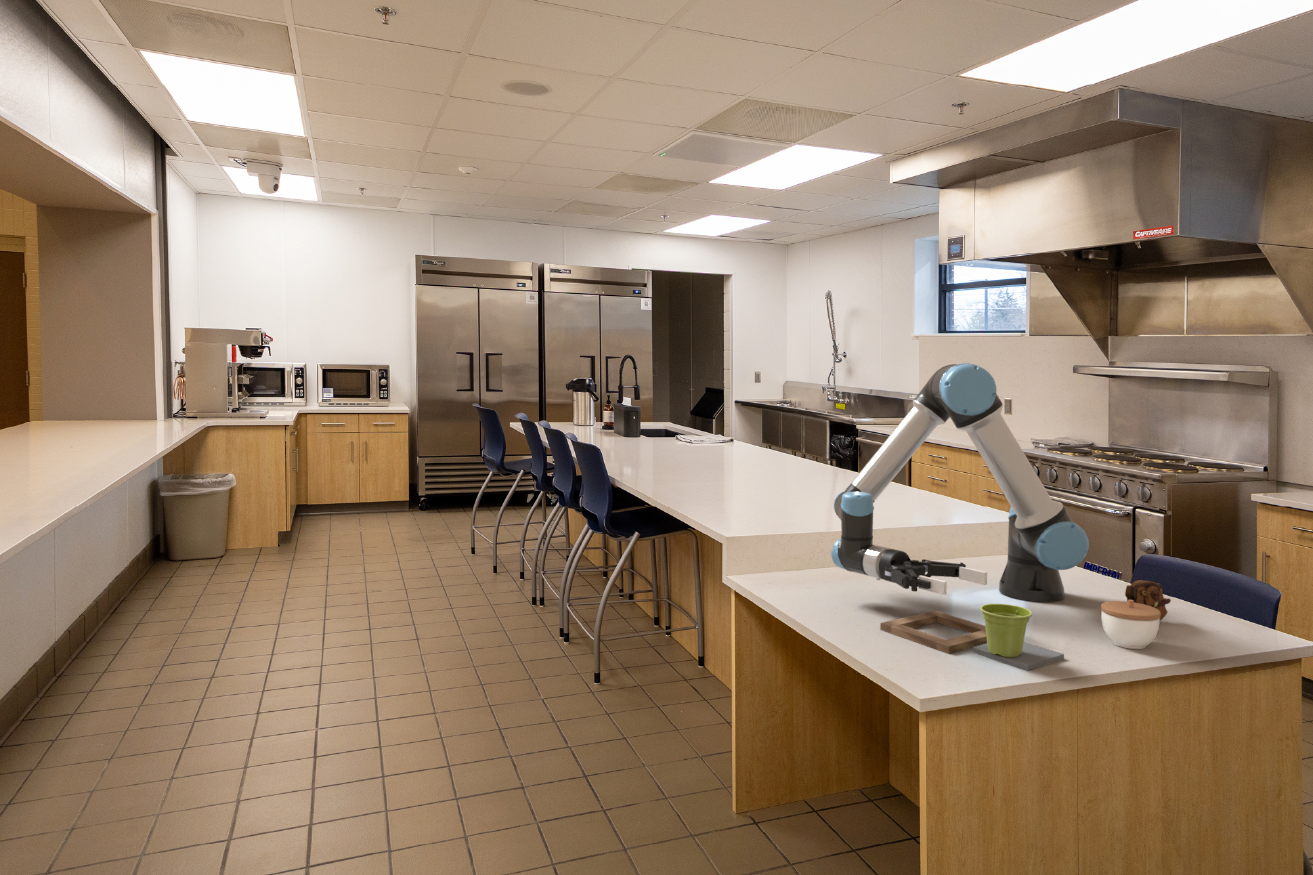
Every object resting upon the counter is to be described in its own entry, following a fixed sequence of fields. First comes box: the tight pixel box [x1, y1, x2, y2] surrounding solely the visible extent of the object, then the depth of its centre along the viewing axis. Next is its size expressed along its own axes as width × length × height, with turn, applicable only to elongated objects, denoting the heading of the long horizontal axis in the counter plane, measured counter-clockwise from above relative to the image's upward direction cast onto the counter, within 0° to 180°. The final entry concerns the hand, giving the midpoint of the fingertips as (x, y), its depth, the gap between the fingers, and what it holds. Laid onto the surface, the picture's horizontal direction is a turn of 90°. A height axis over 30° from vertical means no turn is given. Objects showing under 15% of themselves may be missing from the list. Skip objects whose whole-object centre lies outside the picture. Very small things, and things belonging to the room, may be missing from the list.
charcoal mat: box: [972, 641, 1065, 671], centre depth 163 cm, size 12×12×1 cm
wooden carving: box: [1124, 579, 1171, 622], centre depth 182 cm, size 16×5×10 cm, turn 122°
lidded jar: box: [1100, 600, 1161, 650], centre depth 169 cm, size 11×11×9 cm
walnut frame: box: [879, 610, 987, 655], centre depth 176 cm, size 18×18×2 cm
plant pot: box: [979, 603, 1033, 657], centre depth 161 cm, size 9×9×9 cm
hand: (966, 583), depth 172 cm, fingers open, 13 cm apart
